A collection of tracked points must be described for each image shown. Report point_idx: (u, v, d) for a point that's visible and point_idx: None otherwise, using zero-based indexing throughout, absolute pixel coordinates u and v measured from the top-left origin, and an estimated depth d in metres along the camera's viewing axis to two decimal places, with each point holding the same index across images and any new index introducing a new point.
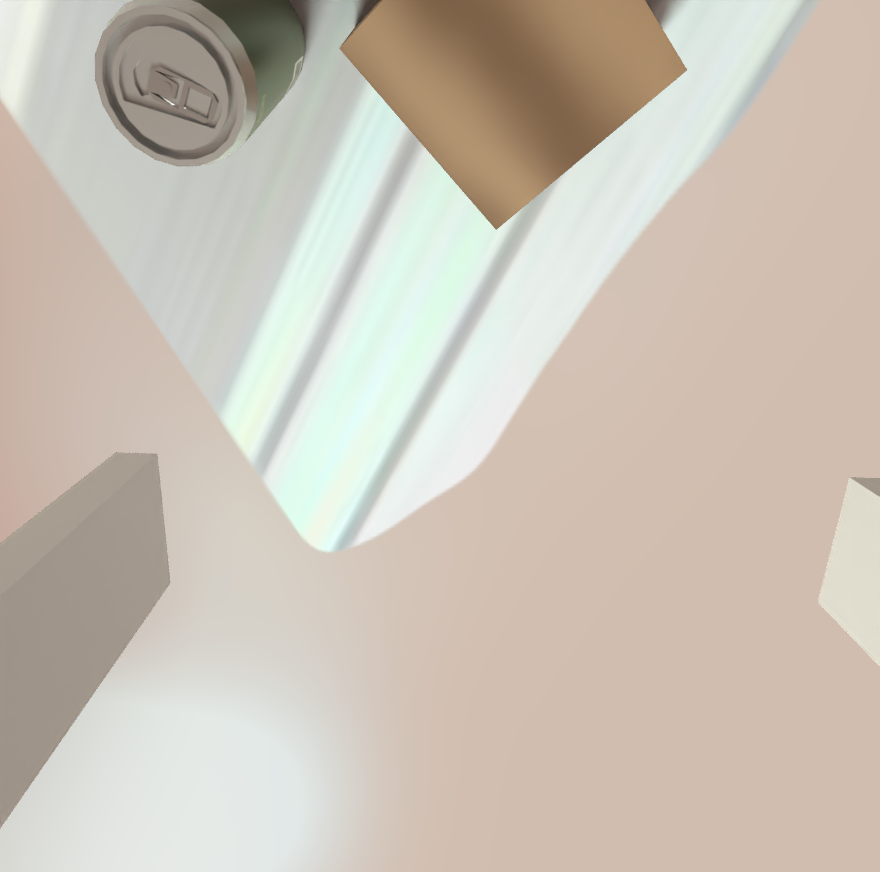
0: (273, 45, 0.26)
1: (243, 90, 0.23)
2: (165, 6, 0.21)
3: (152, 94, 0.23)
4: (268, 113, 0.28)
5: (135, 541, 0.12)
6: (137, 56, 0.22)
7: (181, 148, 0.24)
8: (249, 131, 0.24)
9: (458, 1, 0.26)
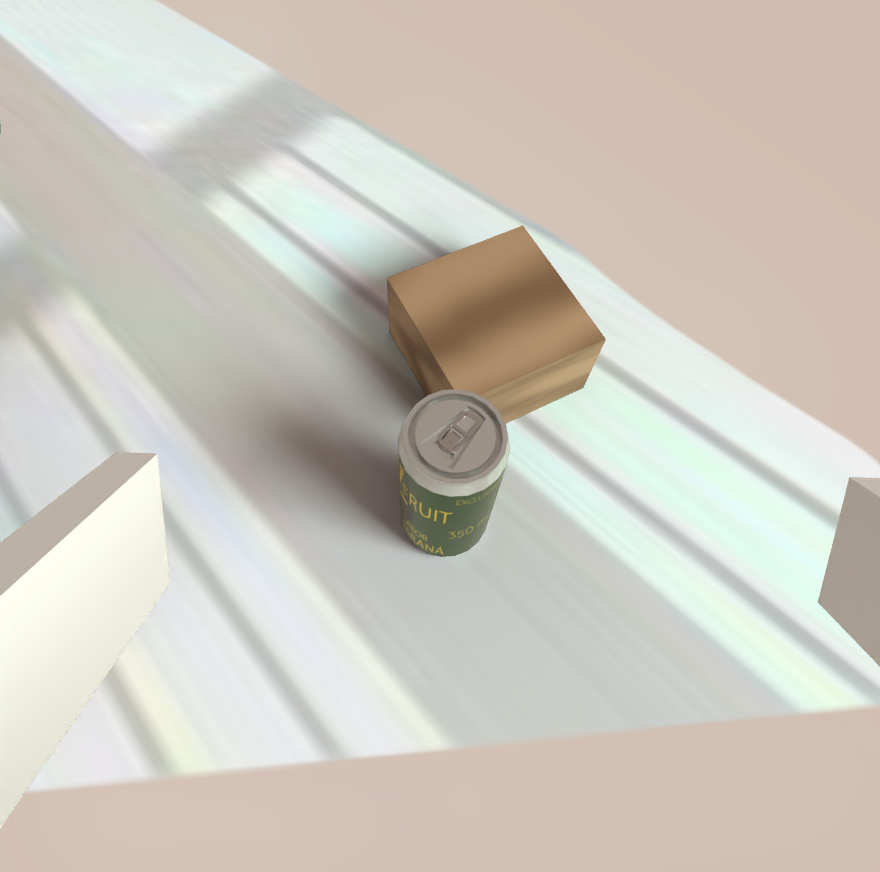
0: None
1: (466, 391, 0.33)
2: None
3: (454, 448, 0.31)
4: None
5: (135, 541, 0.12)
6: (429, 448, 0.32)
7: (493, 445, 0.31)
8: None
9: (454, 330, 0.41)
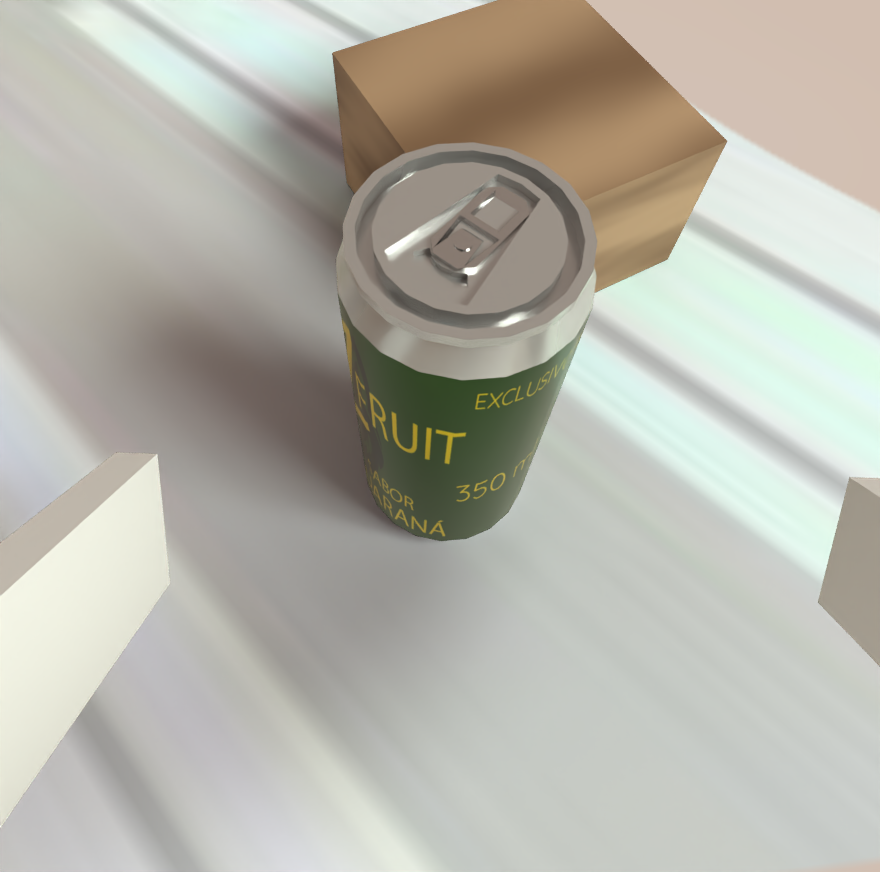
0: None
1: (492, 148, 0.14)
2: (354, 195, 0.13)
3: (467, 264, 0.13)
4: None
5: (135, 541, 0.12)
6: (408, 266, 0.13)
7: (563, 253, 0.13)
8: None
9: (455, 130, 0.23)
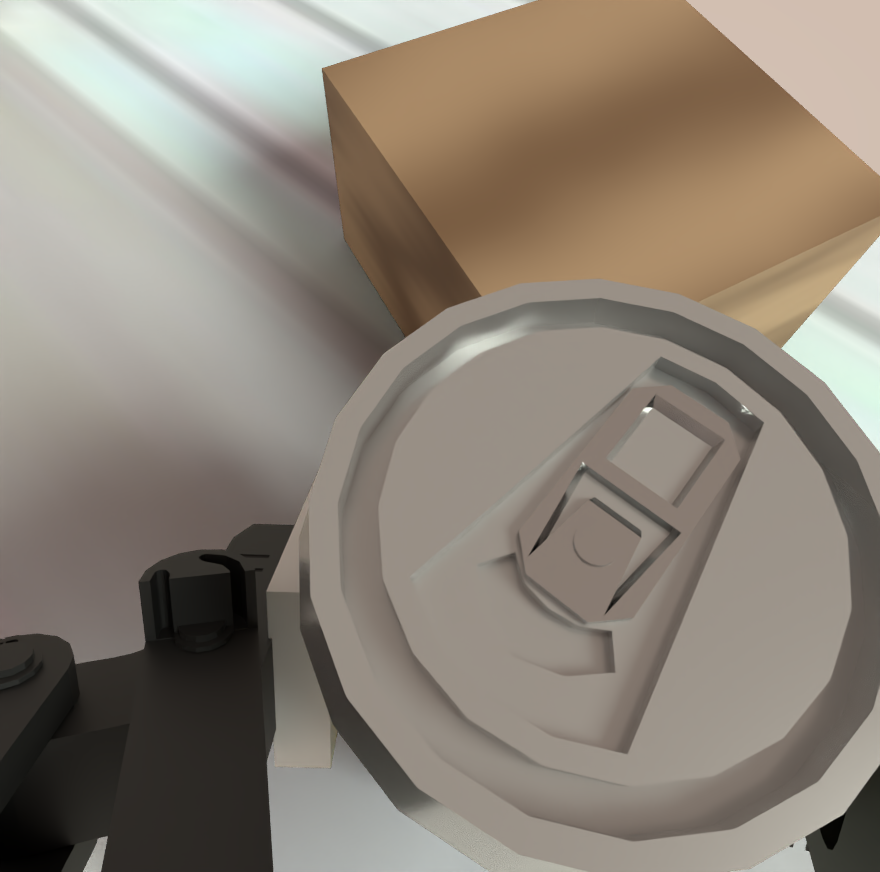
0: None
1: (639, 291, 0.07)
2: (339, 415, 0.06)
3: (614, 607, 0.05)
4: None
5: None
6: (468, 607, 0.05)
7: (845, 581, 0.05)
8: None
9: (503, 185, 0.15)
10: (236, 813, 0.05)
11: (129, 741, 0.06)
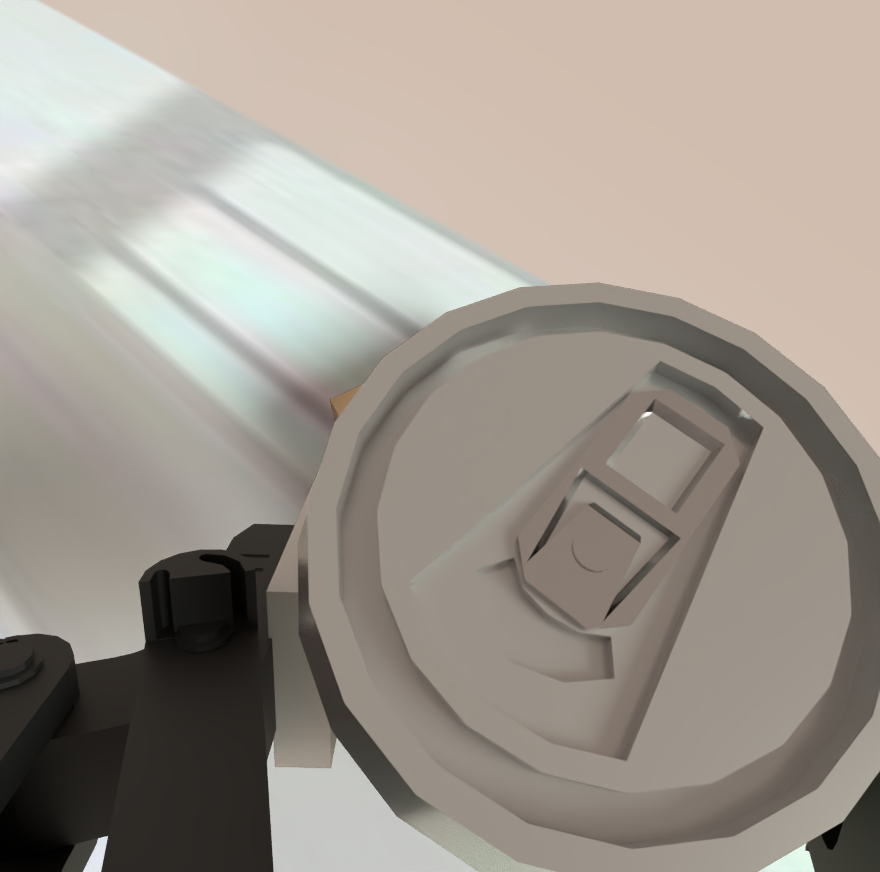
0: None
1: (639, 295, 0.07)
2: (338, 419, 0.06)
3: (613, 614, 0.05)
4: None
5: None
6: (466, 612, 0.05)
7: (844, 587, 0.05)
8: None
9: None
10: (236, 812, 0.05)
11: (128, 741, 0.06)
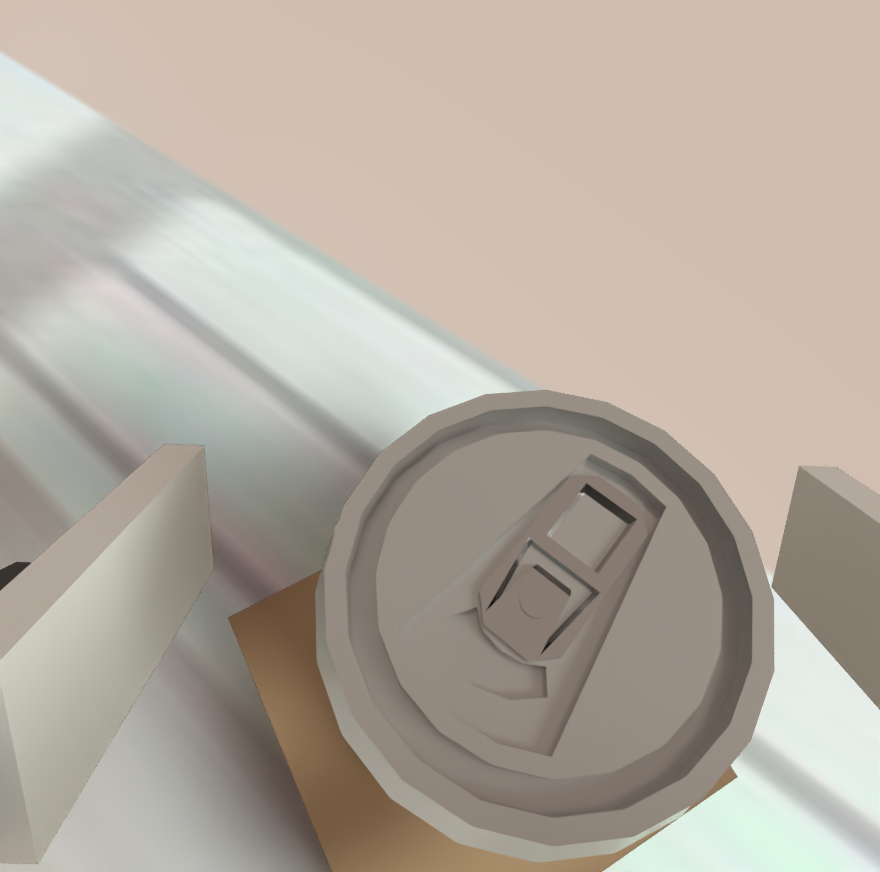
0: None
1: (577, 399, 0.09)
2: (346, 502, 0.08)
3: (547, 650, 0.07)
4: None
5: (186, 528, 0.12)
6: (441, 649, 0.07)
7: (717, 630, 0.07)
8: None
9: None
10: None
11: None
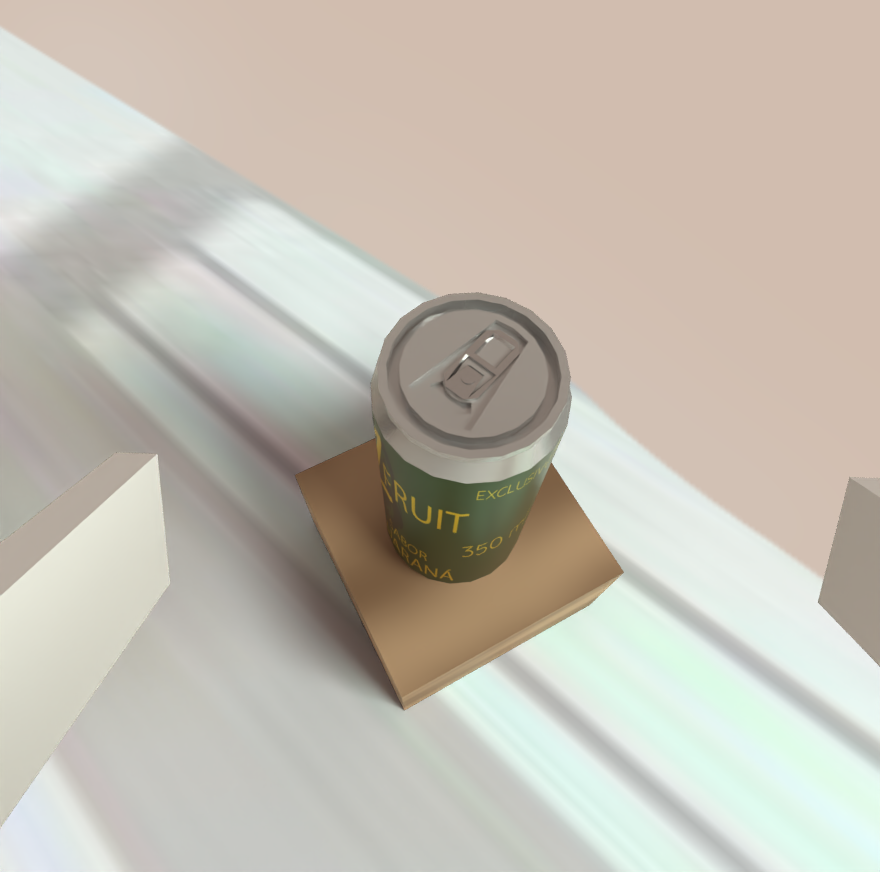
0: None
1: (492, 297, 0.18)
2: (386, 337, 0.18)
3: (471, 395, 0.17)
4: None
5: (135, 541, 0.12)
6: (426, 395, 0.17)
7: (544, 388, 0.17)
8: None
9: (393, 564, 0.27)
10: None
11: None
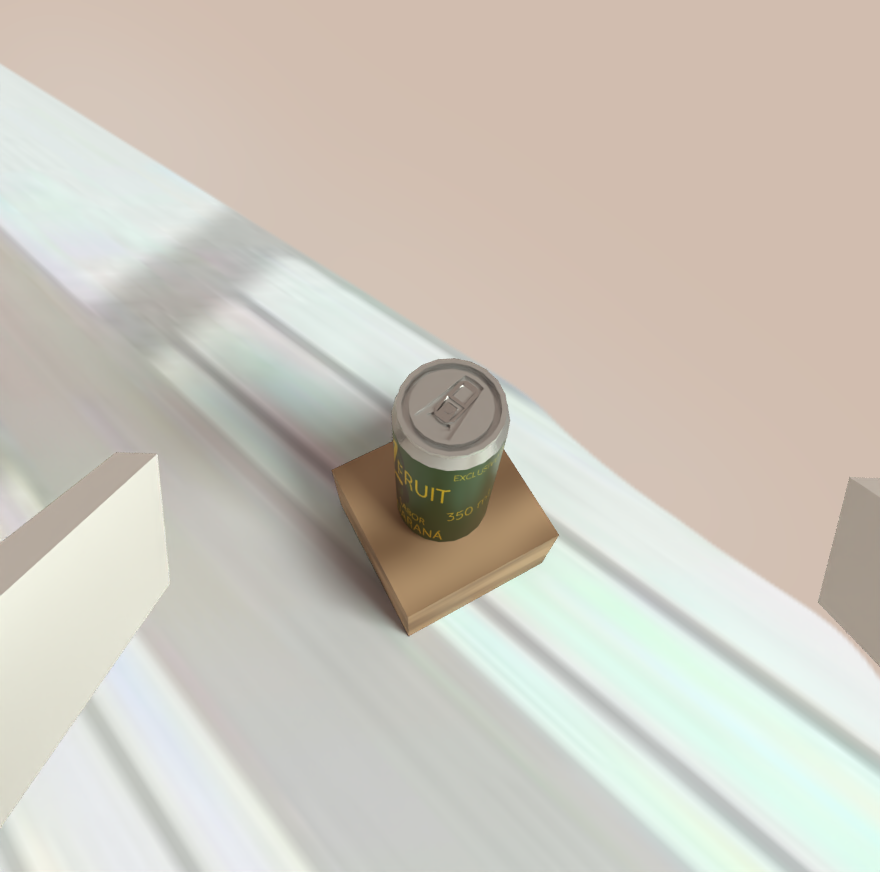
0: None
1: (463, 361, 0.31)
2: None
3: (450, 420, 0.30)
4: None
5: (135, 541, 0.12)
6: (424, 420, 0.30)
7: (492, 416, 0.30)
8: None
9: (401, 530, 0.40)
10: None
11: None
